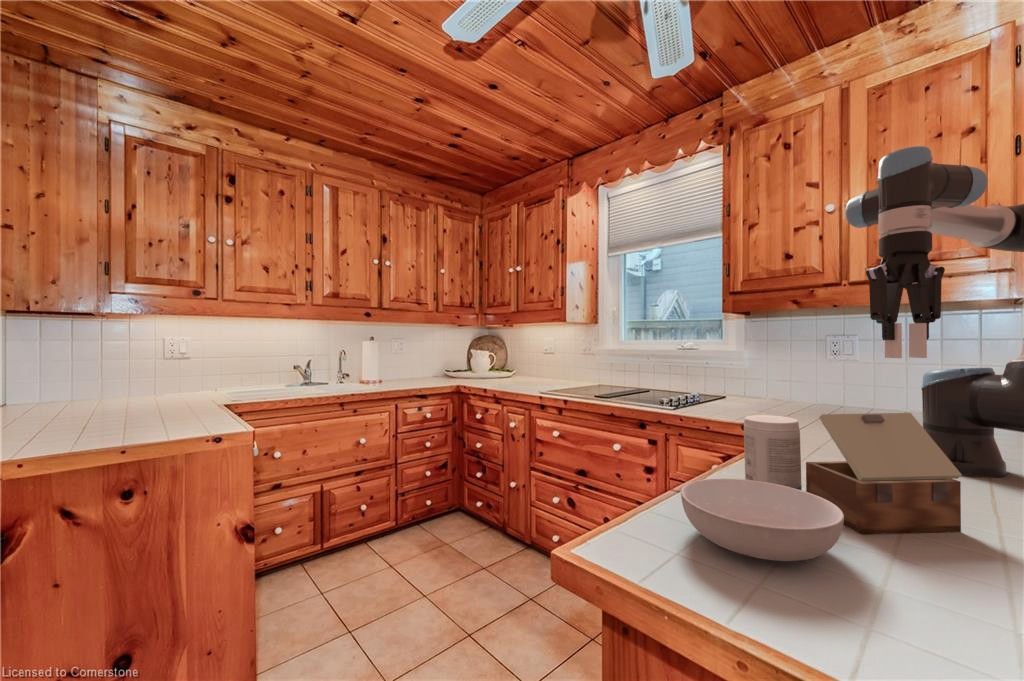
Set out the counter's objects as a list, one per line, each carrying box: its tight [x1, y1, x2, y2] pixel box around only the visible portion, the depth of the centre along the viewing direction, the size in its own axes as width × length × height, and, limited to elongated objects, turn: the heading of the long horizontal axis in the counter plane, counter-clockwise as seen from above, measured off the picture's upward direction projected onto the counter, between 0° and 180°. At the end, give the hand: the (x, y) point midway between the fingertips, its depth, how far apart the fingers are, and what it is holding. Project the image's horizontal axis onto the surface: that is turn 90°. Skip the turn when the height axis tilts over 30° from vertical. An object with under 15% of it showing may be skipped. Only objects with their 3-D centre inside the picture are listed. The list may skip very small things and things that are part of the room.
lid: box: [818, 412, 963, 481], centre depth 72 cm, size 16×12×2 cm
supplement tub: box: [743, 414, 803, 491], centre depth 86 cm, size 10×10×15 cm
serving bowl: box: [680, 477, 844, 562], centre depth 65 cm, size 21×21×7 cm
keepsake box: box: [805, 460, 962, 536], centre depth 73 cm, size 16×12×8 cm
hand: (905, 357), depth 82 cm, fingers open, 4 cm apart
